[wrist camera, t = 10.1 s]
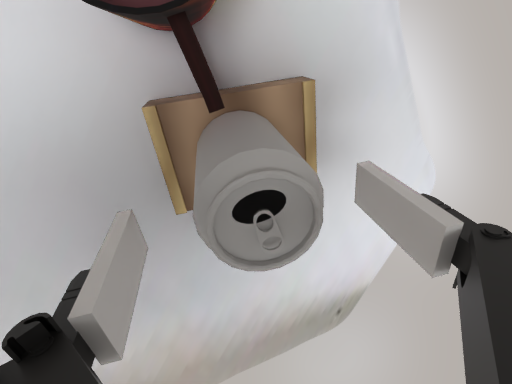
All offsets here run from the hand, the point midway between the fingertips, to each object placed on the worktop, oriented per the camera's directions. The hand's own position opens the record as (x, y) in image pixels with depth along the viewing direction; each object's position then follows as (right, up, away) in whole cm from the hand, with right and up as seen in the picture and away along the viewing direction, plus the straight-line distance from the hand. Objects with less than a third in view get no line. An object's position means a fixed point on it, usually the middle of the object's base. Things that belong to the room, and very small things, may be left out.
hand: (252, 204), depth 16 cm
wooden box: (-2, +6, +11) cm, 13 cm away
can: (-1, +4, +9) cm, 10 cm away
